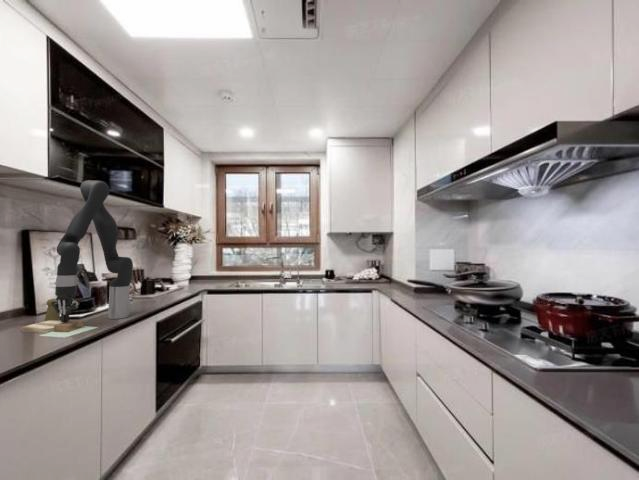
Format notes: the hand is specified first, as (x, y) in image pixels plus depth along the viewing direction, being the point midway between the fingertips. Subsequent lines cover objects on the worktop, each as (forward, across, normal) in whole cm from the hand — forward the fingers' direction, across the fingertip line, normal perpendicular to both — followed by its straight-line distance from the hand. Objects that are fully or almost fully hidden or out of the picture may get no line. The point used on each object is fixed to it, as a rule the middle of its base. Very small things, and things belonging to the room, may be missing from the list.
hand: (64, 322), depth 135 cm
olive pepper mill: (+4, +21, -12) cm, 25 cm away
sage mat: (+4, -6, +2) cm, 7 cm away
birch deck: (+4, +8, 0) cm, 9 cm away
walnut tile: (+2, -3, 0) cm, 3 cm away
